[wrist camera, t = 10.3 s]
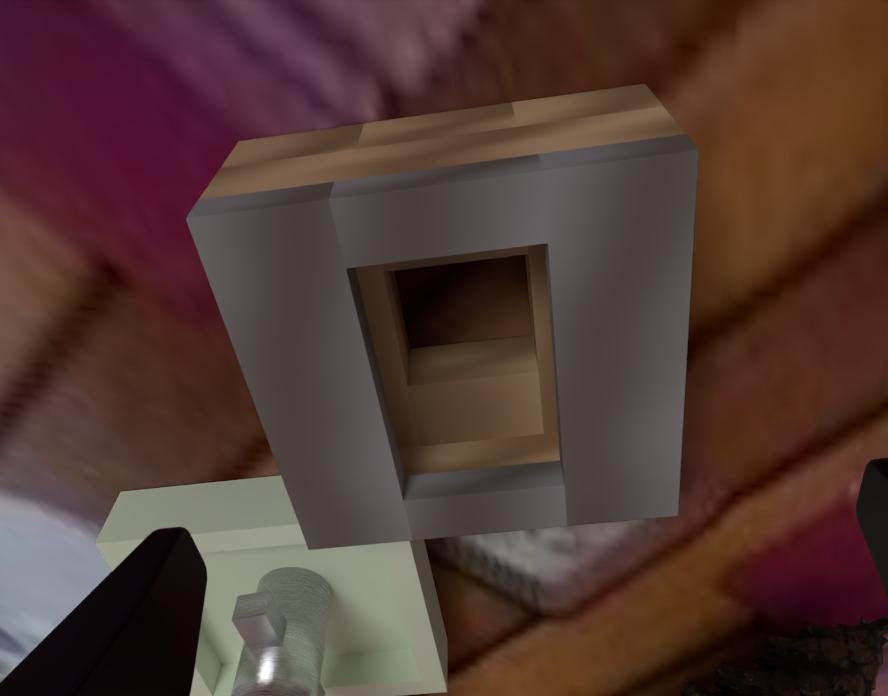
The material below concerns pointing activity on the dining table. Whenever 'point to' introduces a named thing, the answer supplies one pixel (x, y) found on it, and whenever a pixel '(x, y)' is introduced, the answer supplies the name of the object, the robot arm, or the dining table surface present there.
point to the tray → (283, 545)
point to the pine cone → (808, 664)
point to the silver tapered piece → (283, 634)
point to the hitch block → (472, 363)
